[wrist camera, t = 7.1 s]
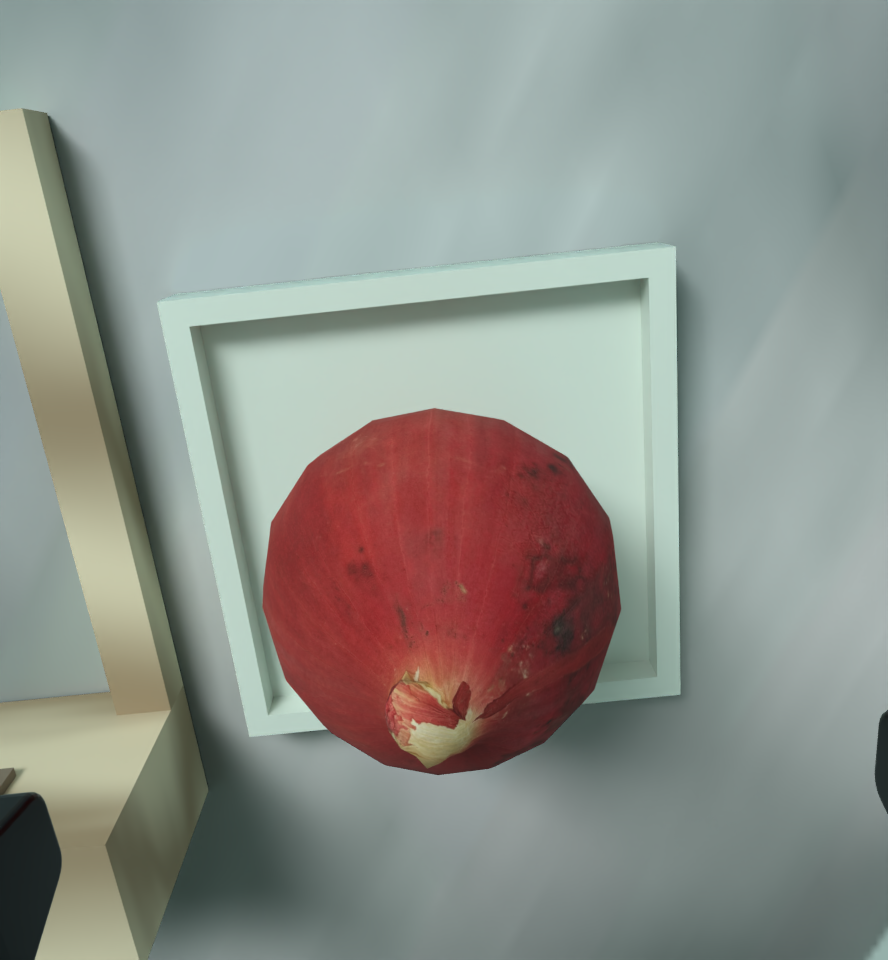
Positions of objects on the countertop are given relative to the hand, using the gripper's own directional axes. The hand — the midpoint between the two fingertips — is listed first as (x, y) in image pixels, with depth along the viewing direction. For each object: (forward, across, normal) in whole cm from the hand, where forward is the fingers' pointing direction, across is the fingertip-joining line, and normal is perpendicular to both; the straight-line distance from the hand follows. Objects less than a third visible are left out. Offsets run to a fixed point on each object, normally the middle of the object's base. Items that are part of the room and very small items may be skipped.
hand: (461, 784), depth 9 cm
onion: (+9, 0, 0) cm, 9 cm away
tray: (+10, 0, 0) cm, 10 cm away
